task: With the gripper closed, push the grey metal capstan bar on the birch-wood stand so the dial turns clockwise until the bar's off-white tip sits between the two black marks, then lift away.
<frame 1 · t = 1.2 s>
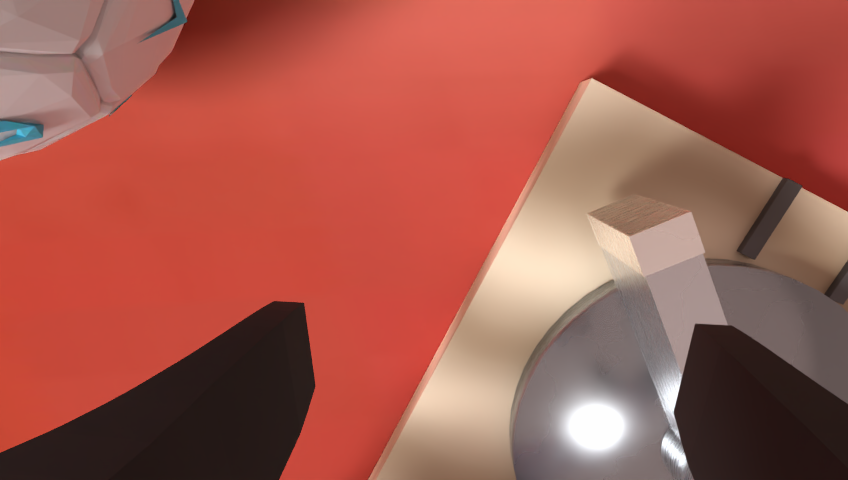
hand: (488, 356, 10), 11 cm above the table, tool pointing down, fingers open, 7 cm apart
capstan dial: (708, 436, 18), point 4 cm above the table, hinge at 50.0°
stand plate: (669, 409, 22), on the table
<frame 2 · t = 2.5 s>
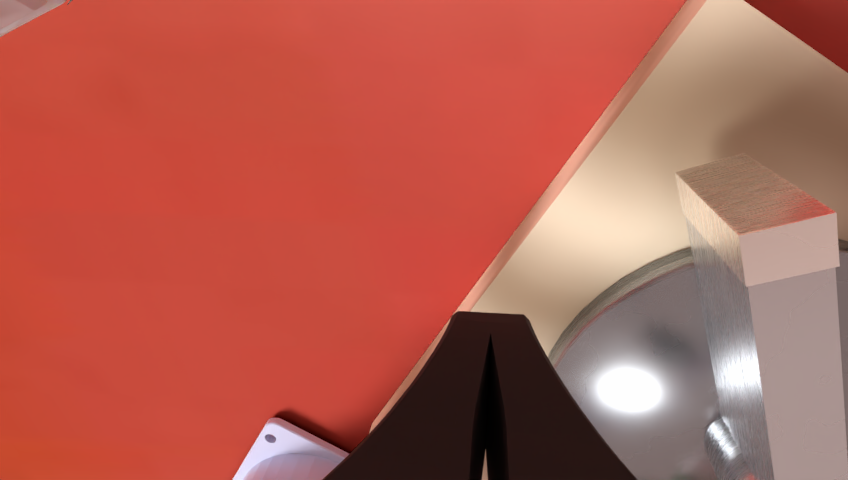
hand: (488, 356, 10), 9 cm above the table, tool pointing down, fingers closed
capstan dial: (767, 440, 15), point 4 cm above the table, hinge at 50.0°
stand plate: (719, 383, 20), on the table
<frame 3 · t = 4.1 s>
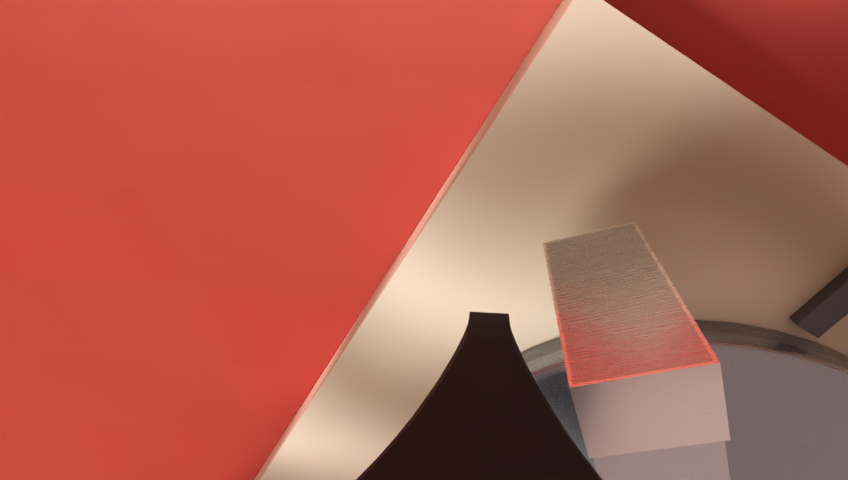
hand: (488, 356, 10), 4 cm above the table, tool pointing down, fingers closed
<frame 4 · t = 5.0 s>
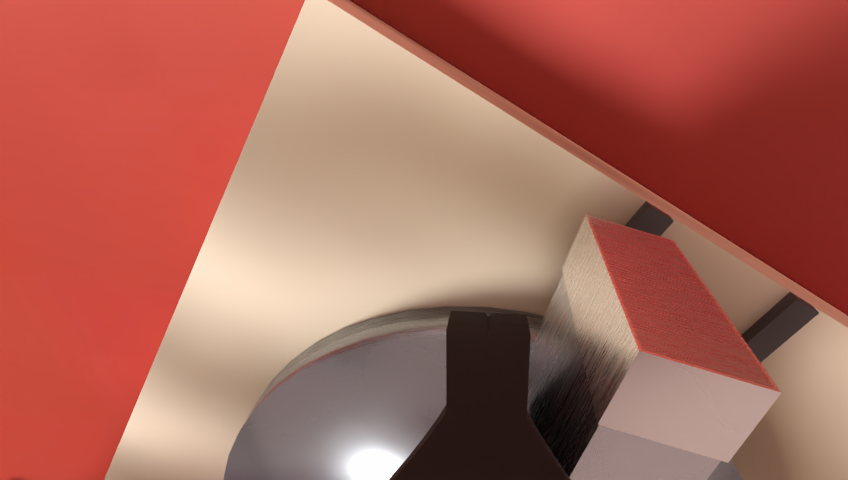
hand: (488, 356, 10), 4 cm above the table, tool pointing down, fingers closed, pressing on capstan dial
stand plate: (476, 466, 17), on the table
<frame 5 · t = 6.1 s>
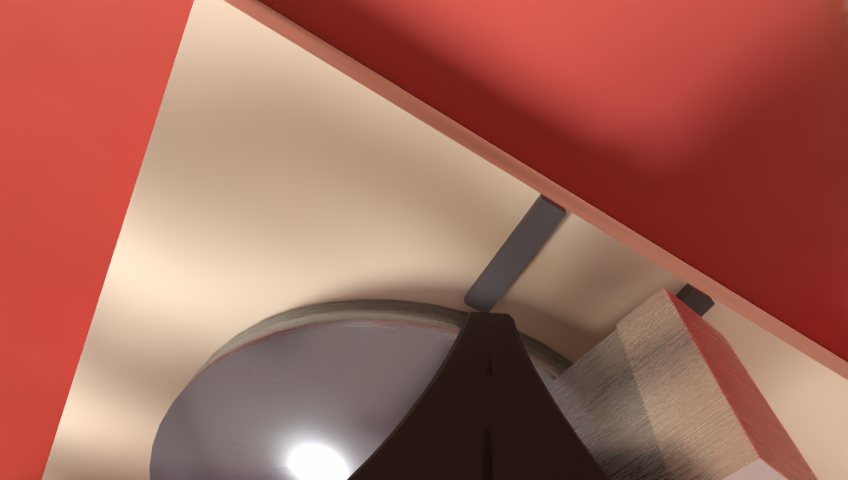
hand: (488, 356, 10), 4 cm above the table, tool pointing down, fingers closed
stand plate: (410, 459, 17), on the table
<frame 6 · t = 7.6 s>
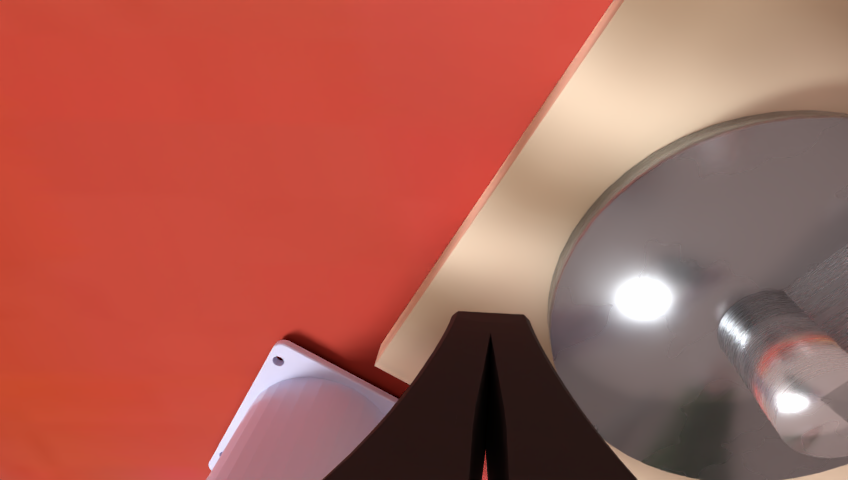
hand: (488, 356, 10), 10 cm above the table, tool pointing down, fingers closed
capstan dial: (832, 325, 15), point 4 cm above the table, hinge at -7.8°
stand plate: (730, 288, 20), on the table
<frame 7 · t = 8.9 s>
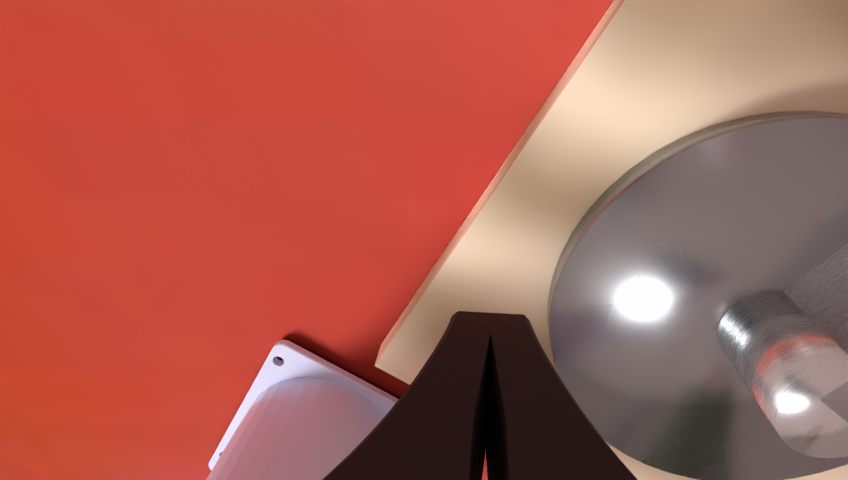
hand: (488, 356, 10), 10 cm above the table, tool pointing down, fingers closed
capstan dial: (832, 325, 15), point 4 cm above the table, hinge at -7.8°
stand plate: (730, 288, 20), on the table
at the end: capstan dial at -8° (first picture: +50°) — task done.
